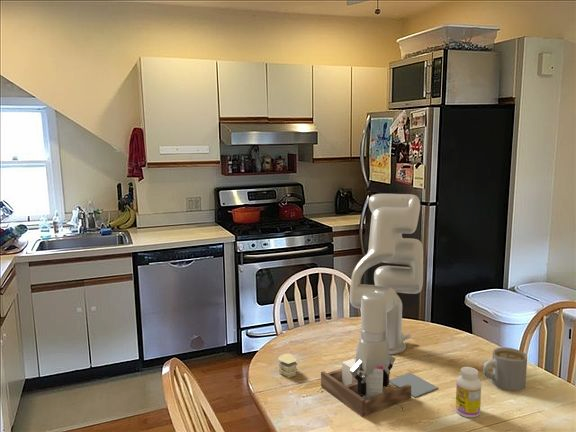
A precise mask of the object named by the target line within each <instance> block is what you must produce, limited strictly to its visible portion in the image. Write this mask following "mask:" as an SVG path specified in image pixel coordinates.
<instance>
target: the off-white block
mask: <svg viewBox="0 0 576 432" xmlns="http://www.w3.org/2000/svg"><path fill="white" fill-rule="evenodd" d="M355 360H356V357H355V358H351V359H348V360H345V361H342V362H341V369H342V382H341V383H342V384H343V385H345V386H346V385H349V384H352V383H355V382H358V380H356V379H355V378H354V377H353V375H352V374H351V373H350V370H351V369H352V368H353V367H354V366H355ZM358 372H359V370H358V371H357V374H358ZM362 376H363V373H362V375H361V378H362Z"/></svg>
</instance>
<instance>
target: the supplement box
mask: <svg viewBox="0 0 576 432" xmlns="http://www.w3.org/2000/svg"><path fill="white" fill-rule="evenodd" d="M365 383H366V395H365V396H364V395H362V398H364V399H365V400H367V399H370V398H372V397H375V396H378V395H380V394H383V389H384V387H383V366H382V367H379V368H376V369H374V370H373V373H372V374H369V375H368V376H367V378H366V380H365Z"/></svg>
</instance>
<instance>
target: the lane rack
mask: <svg viewBox="0 0 576 432" xmlns="http://www.w3.org/2000/svg"><path fill="white" fill-rule="evenodd" d="M390 375H391V373H390V374H389V375H388V386H390V382H389V380H390ZM320 387H321V388H322V389H323V390H324V391H326V392H328V393H329V394H330V395H331V396H333V397H334V398H336V400H338V401H340V402H341V403H342V404H343V405H345V406H346V407H348V408H349V409H350V410H351V411H353V412H354V413H356V414H357V415H358V416H360V417H361V418H363V417H366V416H369V415H372V414H373V413H376V412H379V411H382V410H384V409H387V408H389V407H392V406H394V405H397V404H400V403H403V402H404V401H407V400H409V399H411V398H412V396H411V385H409V384H407V385H405V386H402V387H399V388H398V387H396V388H394V389H391V390H389V391H386V392H384V393H383V392H382V394H380V395H378V396H375V397H372V398H370V399H367V400H365V399H364V398H363V395H362V394H361V393H359V392H358V382H355V383H352V384H349V385H346V386H345V385H343V384H342V368H338V369H336V370H332V371H329V372H326V371H325V370H324V371H321V372H320ZM383 388H385V387H384V386H383ZM361 395H362V396H361Z"/></svg>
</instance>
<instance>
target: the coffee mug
mask: <svg viewBox="0 0 576 432" xmlns="http://www.w3.org/2000/svg"><path fill="white" fill-rule="evenodd" d="M527 366H528V356H527V354H526V353H525V352H523V351H521V350H519V349H518V348H517V349H516V348H513V347H506V346H505V347H496V348H495V349H493V351H492V359H488V360H486V361H485V362H484V363H483V366H482V371H483V372H482V373H483V375H484V377H486V378H488V379H490V381H491V383H492V385H493V386H495V387H497V388H498V389H501V390H502V391H503V390H504V391H507V392H520V391H523V390H525V389H526V386H527V370H528V369H527V368H528V367H527ZM490 367H491V372H490V373H489V368H490Z"/></svg>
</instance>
